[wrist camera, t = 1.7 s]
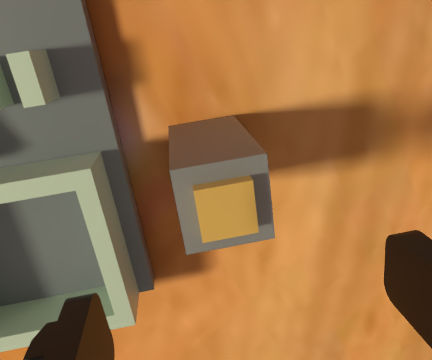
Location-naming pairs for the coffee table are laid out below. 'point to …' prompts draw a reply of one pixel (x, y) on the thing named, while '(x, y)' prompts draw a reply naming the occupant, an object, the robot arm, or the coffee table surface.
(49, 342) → the robot arm
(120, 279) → the end holder
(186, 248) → the block
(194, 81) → the coffee table surface
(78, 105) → the board
